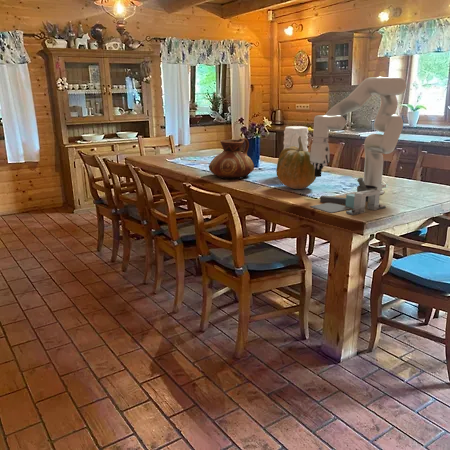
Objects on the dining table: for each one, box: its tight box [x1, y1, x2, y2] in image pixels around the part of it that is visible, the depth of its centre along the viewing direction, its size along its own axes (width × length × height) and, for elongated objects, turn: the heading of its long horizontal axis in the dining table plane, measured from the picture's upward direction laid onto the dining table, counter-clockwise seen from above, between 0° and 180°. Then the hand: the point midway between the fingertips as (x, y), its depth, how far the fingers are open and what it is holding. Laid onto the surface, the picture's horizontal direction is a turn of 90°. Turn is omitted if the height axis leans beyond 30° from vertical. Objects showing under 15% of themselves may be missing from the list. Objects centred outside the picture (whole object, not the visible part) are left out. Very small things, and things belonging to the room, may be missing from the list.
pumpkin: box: [275, 136, 317, 190], centre depth 252 cm, size 23×26×30 cm
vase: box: [282, 125, 310, 152], centre depth 289 cm, size 17×16×32 cm
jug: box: [208, 137, 255, 180], centre depth 291 cm, size 30×30×25 cm
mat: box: [309, 202, 353, 214], centre depth 212 cm, size 14×14×1 cm
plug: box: [345, 193, 355, 210], centre depth 211 cm, size 4×6×6 cm
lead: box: [319, 195, 346, 206], centre depth 221 cm, size 3×16×3 cm, turn 61°
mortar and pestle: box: [356, 177, 377, 203], centre depth 224 cm, size 11×9×12 cm
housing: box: [345, 189, 386, 216], centre depth 205 cm, size 22×4×9 cm, turn 123°
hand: (317, 176), depth 228 cm, fingers closed
